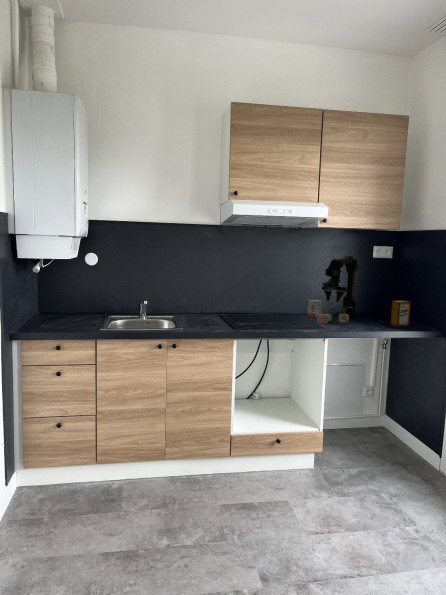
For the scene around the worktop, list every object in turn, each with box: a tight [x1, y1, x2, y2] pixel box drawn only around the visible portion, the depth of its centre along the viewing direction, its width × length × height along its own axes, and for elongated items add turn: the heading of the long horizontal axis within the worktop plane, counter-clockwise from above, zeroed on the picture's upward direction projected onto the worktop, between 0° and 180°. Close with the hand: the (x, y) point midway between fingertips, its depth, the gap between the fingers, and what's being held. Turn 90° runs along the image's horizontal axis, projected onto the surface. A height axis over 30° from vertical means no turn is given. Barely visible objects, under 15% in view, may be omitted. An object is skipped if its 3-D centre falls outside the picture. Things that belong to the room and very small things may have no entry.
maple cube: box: [338, 313, 350, 324], centre depth 302 cm, size 5×5×5 cm
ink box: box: [307, 299, 323, 318], centre depth 320 cm, size 9×5×12 cm, turn 103°
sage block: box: [319, 313, 333, 322], centre depth 308 cm, size 7×7×4 cm
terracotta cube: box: [316, 315, 329, 324], centre depth 296 cm, size 5×5×5 cm
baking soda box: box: [390, 300, 412, 327], centre depth 296 cm, size 10×6×16 cm
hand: (332, 301), depth 298 cm, fingers open, 9 cm apart
